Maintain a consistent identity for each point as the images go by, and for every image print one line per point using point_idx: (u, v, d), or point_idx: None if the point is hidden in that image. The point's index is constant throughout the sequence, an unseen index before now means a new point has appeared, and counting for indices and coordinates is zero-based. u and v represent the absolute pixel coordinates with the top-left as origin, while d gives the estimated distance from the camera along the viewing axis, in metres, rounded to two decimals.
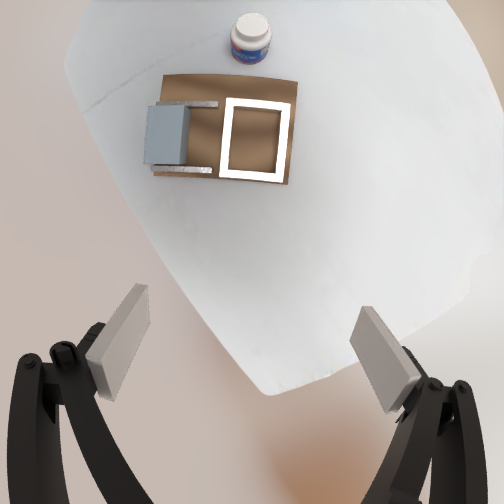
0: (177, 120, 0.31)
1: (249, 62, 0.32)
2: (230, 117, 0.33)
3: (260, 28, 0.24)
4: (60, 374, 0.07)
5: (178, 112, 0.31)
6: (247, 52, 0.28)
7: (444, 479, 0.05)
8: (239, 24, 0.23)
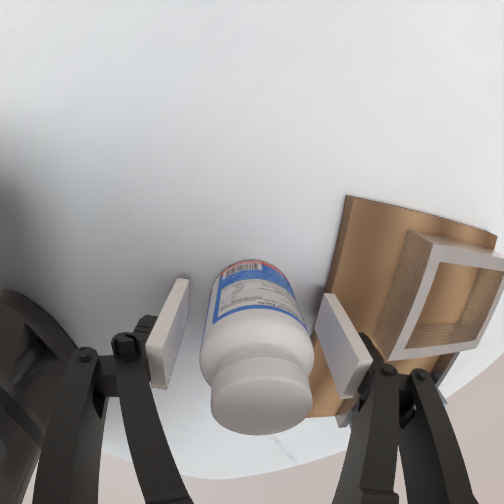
0: None
1: None
2: (420, 349, 0.16)
3: (282, 395, 0.09)
4: (118, 363, 0.09)
5: None
6: None
7: (418, 473, 0.06)
8: (262, 431, 0.10)
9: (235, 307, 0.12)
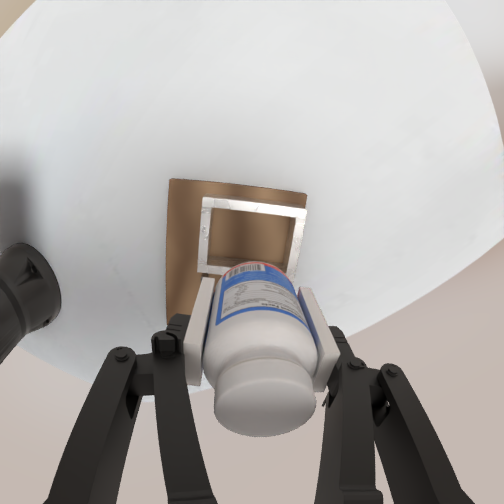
0: None
1: None
2: (222, 268, 0.30)
3: (286, 397, 0.09)
4: (156, 360, 0.09)
5: None
6: None
7: (400, 471, 0.06)
8: (265, 433, 0.09)
9: (238, 309, 0.12)
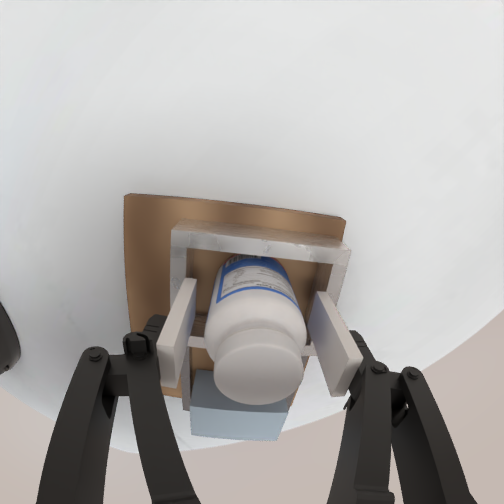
0: (215, 413, 0.19)
1: None
2: None
3: (276, 363, 0.11)
4: (129, 362, 0.09)
5: (202, 412, 0.19)
6: None
7: (413, 472, 0.06)
8: (259, 400, 0.11)
9: (236, 288, 0.14)
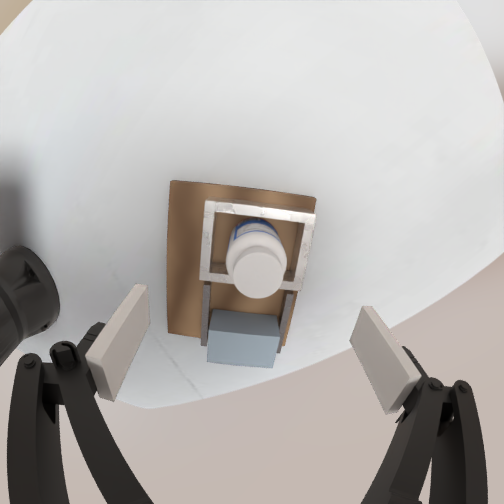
0: (227, 337, 0.29)
1: None
2: (225, 276, 0.28)
3: (267, 265, 0.21)
4: (60, 374, 0.07)
5: (217, 335, 0.29)
6: None
7: (444, 479, 0.05)
8: (258, 294, 0.22)
9: (245, 232, 0.24)
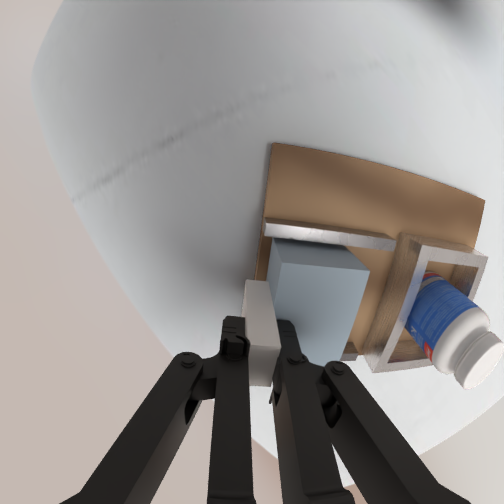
0: (349, 304, 0.14)
1: None
2: (418, 283, 0.16)
3: (487, 371, 0.11)
4: (222, 361, 0.10)
5: (354, 287, 0.14)
6: None
7: (366, 473, 0.06)
8: (471, 374, 0.11)
9: None
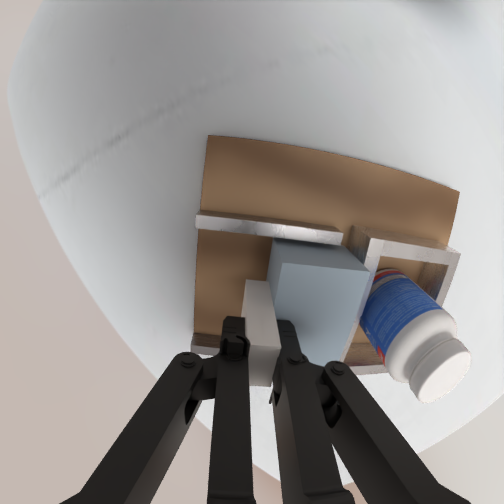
0: (349, 305, 0.14)
1: None
2: (369, 281, 0.16)
3: (452, 384, 0.11)
4: (222, 361, 0.10)
5: (354, 287, 0.14)
6: None
7: (366, 473, 0.06)
8: (427, 386, 0.11)
9: None
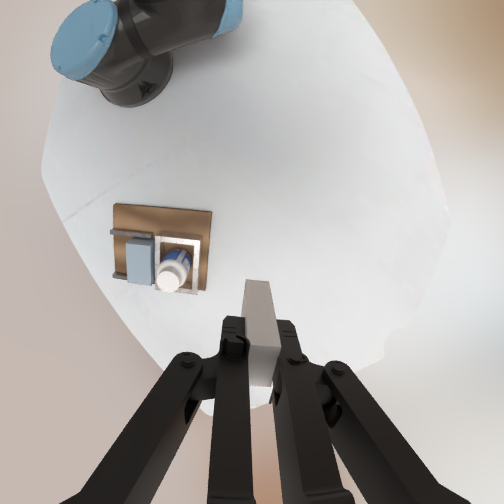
0: (146, 256, 0.47)
1: None
2: (158, 250, 0.48)
3: (173, 286, 0.43)
4: (222, 361, 0.10)
5: (146, 251, 0.46)
6: None
7: (366, 473, 0.06)
8: (159, 282, 0.43)
9: (186, 267, 0.46)
